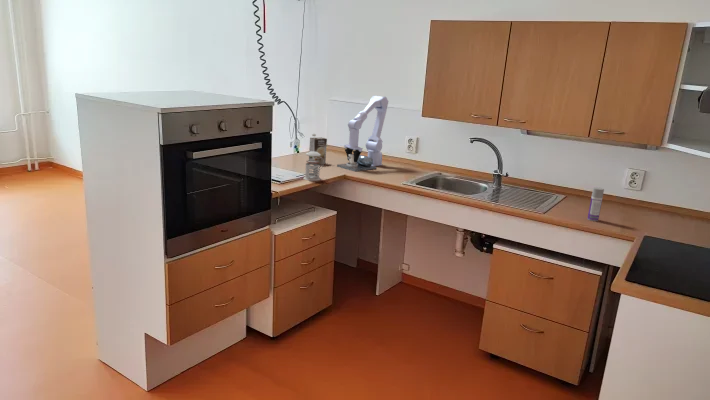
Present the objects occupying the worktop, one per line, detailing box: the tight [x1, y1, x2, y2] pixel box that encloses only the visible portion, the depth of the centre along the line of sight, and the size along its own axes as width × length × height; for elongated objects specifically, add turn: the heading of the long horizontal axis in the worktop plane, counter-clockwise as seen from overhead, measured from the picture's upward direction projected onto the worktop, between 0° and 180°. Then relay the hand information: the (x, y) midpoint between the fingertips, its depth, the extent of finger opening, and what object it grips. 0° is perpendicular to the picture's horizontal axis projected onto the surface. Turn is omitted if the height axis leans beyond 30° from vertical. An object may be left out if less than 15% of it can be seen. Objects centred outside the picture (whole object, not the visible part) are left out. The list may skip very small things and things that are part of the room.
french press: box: [303, 133, 324, 182], centre depth 286 cm, size 10×12×25 cm
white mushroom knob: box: [346, 153, 356, 164], centre depth 323 cm, size 7×6×6 cm
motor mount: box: [336, 154, 377, 172], centre depth 326 cm, size 18×17×7 cm
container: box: [587, 186, 605, 222], centre depth 241 cm, size 5×5×15 cm
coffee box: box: [308, 137, 328, 165], centre depth 331 cm, size 9×6×16 cm
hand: (352, 161), depth 325 cm, fingers closed on white mushroom knob, 5 cm apart
